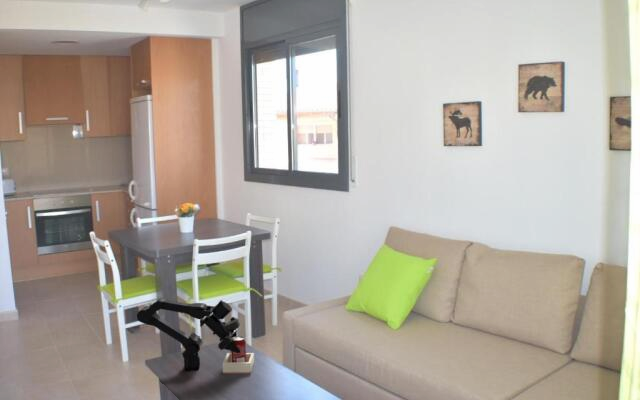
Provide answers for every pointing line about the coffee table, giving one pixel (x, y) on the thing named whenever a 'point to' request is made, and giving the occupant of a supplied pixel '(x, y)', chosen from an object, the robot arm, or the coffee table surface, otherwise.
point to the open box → (238, 364)
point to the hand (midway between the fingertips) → (241, 349)
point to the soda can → (241, 345)
